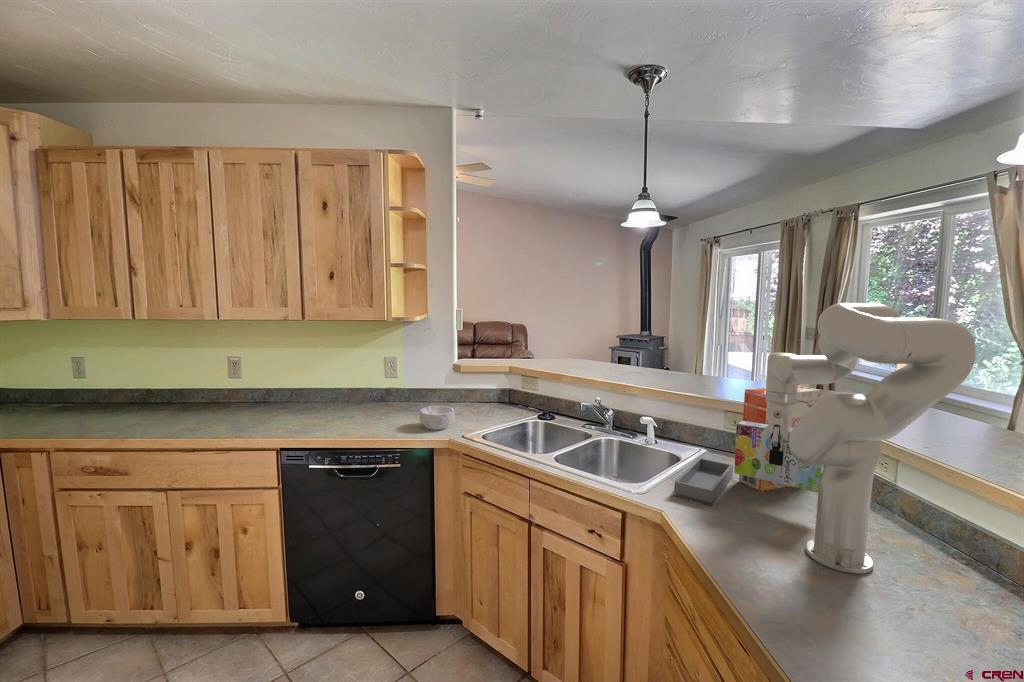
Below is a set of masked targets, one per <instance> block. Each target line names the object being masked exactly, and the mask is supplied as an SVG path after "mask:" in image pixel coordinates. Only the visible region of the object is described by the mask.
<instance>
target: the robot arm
mask: <svg viewBox="0 0 1024 682" xmlns="http://www.w3.org/2000/svg"><path fill="white" fill-rule="evenodd" d="M817 332H818V334H819V338H818V345H817V346H818V348H819V350H820V353H821V354H822V355H821V354H819V355H818V354H817V355H816V354H800V355H799V354H796V353H792V352H772V353H769V354H768V356H767V365H766V383H765V388H766V399H765V401H766V402H767V403H770V407H769V423H768V437H769V438H770V439H771V446H770V453H769V463H770V464H774V465H779V466H782V465H783V451H782V447H783V440H786V442H788V441H789V448H790V451H791V453H792V455H793V456H794V457H795V458H796V459H797V460H798V461H799V462H801V463H803V464H806V465H813V466H824V470H823V472H822V474H821V477H820V481H819V490H818V493H817V502H816V503H817V504H816V514H815V515H816V517H815V528H814V538H813V539H810V540H808V541H807V542H806V544H805V551H806V554H808V556H810V557H811V558H812V559H813V560H814V561H816V562H818V563H819V564H821V565H823V566H825V567H828V568H830V569H834V570H835V571H839V572H843V573H849V574H854V575H855V574H856V575H857V574H866V573H870V572H871V571H872V570H874V560H873V559H872V558H871V556H869V555H868V554H867V553H866V550H867V538H868V529H869V518H870V509H871V499H872V492H873V491H872V490H873V481H874V476H875V473H876V469H877V466H878V464H879V461H880V458H881V455H882V448H883V447H882V441H886V440H887V441H888V440H890V439H893V438H894V437H896V436H897V435H898V434H900V433H901V432H902V431H903V430H905V429H906V428H908V427H909V426H910V425H911V424H913V422H915V421H916V420H917V419H919V418H920V417H922V415H923V414H924V413H926V412H927V411H928V410H929V409H930V408H931V407H933V406H934V405H935V404H937V403H938V402H940V401H941V400H943V399H945V397H946V396H949V395H950V394H951V393H952V392H953V391H955V390H956V389H957V388H959V386H961V385H962V384H963V383H964V381H966V379H967V378H968V377H969V375H970V373H971V372H972V369H973V368H974V365H975V361H976V355H977V347H976V342H975V339H974V336H973V334H972V333H971V331H970V330H969V329H968V328H966V326H964V325H962V324H960V323H958V322H955V321H952V320H949V319H945V318H944V319H943V318H935V317H934V318H931V317H902V316H901V314H900V313H899V311H898V310H896V309H895V308H893V307H891V306H889V305H887V304H883V303H876V302H875V303H874V302H871V303H870V302H865V303H863V302H853V303H852V302H839V303H834V304H832V305H830V306H828V307H826V308H825V309H824V310H823V311H822V313H821V314H820V315H819V318H818V321H817ZM858 358H859V359H862V360H864V361H867V362H870V363H874V364H885V365H886V364H889V365H891V364H898V365H899V364H905V366H903V367H901V368H898V369H896V370H895V371H893V372H892V371H891V373H889V374H887V375H886V376H884V377H883V378H882V379H881V380H880V381H879V382H878V383H877V385H875V386H874V387H873V388H872V389H870V390H869V391H866V392H860V393H831V394H829V395H826V396H824V397H820V399H819V400H818V401H817V402H816V403H815V404H814V405H813V406H812V407H811V408H810V409H809V410H808V411H807V412H806V414H805V415H804V416H803V417H802V418H801V419H800V420H799V421H798V423H797V424H796V425H795V426H794V428H793V429H792V424H793V405H797V391H798V386H799V385H830V384H833V383H836V382H839V381H840V380H842V379H845V378H846V377H848V376H849V375H850V374H852V373H853V371H854V369H855V368H856V365H857V363H858ZM791 429H792V431H791ZM790 431H791V434H790ZM770 435H772V436H770ZM789 436H790V437H789ZM779 437H780V438H781V439H778V438H779ZM778 442H780V443H778Z"/></svg>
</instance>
